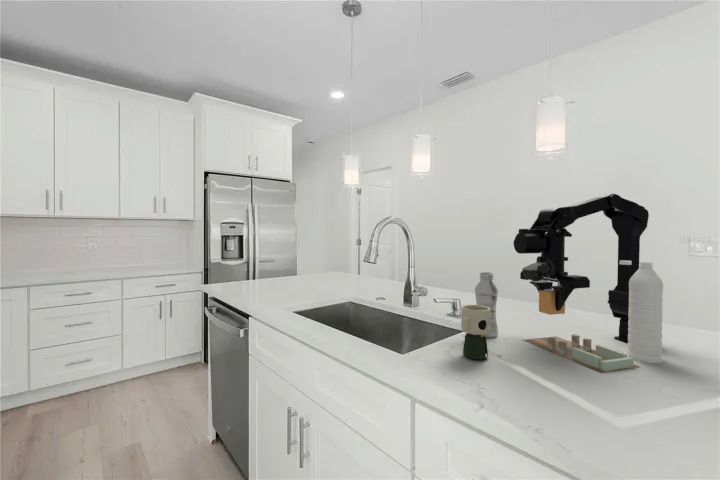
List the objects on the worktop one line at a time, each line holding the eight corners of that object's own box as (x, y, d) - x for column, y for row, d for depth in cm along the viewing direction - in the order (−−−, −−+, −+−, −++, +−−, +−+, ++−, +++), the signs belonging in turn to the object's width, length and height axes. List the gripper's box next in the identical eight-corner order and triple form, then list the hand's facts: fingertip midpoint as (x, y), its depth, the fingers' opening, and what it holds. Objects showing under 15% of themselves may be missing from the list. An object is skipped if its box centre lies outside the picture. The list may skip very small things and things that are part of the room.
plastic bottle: (500, 343, 100) (500, 274, 100) (475, 341, 102) (476, 274, 101) (496, 336, 107) (496, 272, 106) (473, 335, 108) (473, 271, 107)
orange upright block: (553, 310, 99) (553, 288, 99) (564, 313, 95) (565, 290, 95) (538, 311, 97) (539, 288, 97) (550, 314, 94) (550, 291, 93)
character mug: (477, 366, 83) (477, 313, 83) (451, 358, 88) (451, 308, 88) (498, 355, 90) (498, 306, 90) (473, 348, 96) (473, 302, 95)
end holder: (598, 354, 88) (598, 344, 88) (633, 367, 79) (633, 356, 79) (571, 357, 85) (572, 347, 85) (604, 371, 77) (604, 360, 77)
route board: (555, 340, 103) (555, 326, 102) (640, 372, 79) (641, 354, 79) (522, 344, 99) (522, 329, 99) (600, 378, 76) (601, 359, 76)
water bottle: (665, 364, 84) (667, 262, 83) (655, 370, 81) (658, 263, 80) (623, 353, 91) (624, 259, 91) (612, 358, 88) (614, 261, 87)
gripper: (505, 251, 103) (504, 303, 103) (556, 256, 85) (555, 319, 85) (536, 251, 106) (535, 301, 106) (592, 255, 88) (591, 316, 88)
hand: (551, 308), depth 96 cm, fingers closed on orange upright block, 4 cm apart
